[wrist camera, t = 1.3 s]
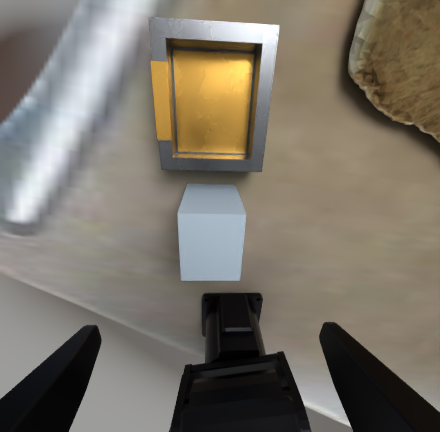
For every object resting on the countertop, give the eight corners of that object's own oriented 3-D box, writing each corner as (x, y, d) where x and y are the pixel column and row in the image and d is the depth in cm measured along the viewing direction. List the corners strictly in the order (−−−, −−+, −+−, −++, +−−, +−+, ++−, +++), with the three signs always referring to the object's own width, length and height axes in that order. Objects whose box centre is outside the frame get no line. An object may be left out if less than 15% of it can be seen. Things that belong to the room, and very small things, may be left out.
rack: (254, 163, 17) (262, 172, 14) (168, 161, 17) (160, 170, 14) (266, 41, 14) (281, 22, 11) (159, 35, 13) (146, 14, 11)
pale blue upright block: (231, 235, 20) (239, 280, 15) (188, 235, 20) (181, 280, 14) (235, 184, 18) (246, 214, 12) (187, 183, 18) (177, 213, 12)
